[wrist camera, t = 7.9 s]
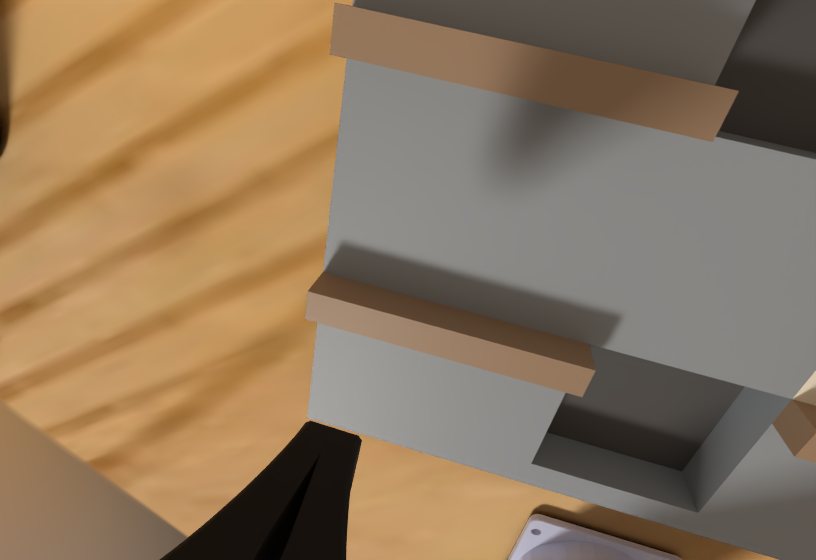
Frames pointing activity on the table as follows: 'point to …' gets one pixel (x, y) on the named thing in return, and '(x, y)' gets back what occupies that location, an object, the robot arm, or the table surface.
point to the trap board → (583, 252)
